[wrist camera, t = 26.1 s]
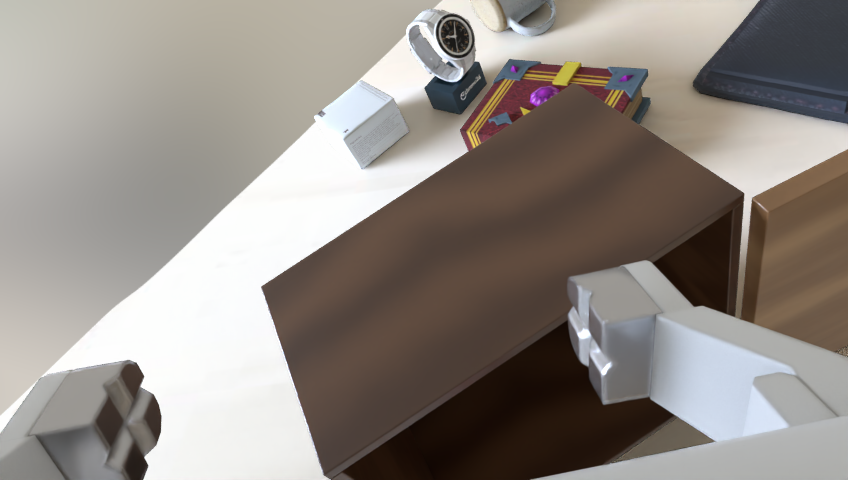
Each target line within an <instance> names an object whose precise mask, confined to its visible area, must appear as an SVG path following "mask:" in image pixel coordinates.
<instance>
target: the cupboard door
mask: <svg viewBox="0 0 848 480" xmlns="http://www.w3.org/2000/svg"><path fill="white" fill-rule="evenodd" d="M741 320H744V321H747V322H750V323H753V324H756V325H758V326H761V327H764V328H767V329H770V330H773V331H775V332H778V333H781V334H784V335H787V336H790V337H792V338H795V339H798V340H801V341H804V342H807V343H809V344H812V345H815V346H818V347H821V348H824V349H826V350H829V351H832V352H835V351H837V350H840V349H842V348H844V347H846V346H848V150H846V151H844V152H842V153H840V154H838V155H836V156H834V157H832V158H830V159H828V160H826V161H824V162H822V163H820V164H818V165H816V166H814V167H812V168H810V169H808V170H806V171H804V172H802V173H800V174H798V175H796V176H794V177H792V178H790V179H788V180H786V181H784V182H782V183H781V184H779V185H777V186H775V187H773V188H771V189H769V190H767V191H765V192H763V193H761V194H759V195H757V196H755V197H753V198H752V204H751V215H750V226H749V236H748V247H747V258H746V269H745V280H744V291H743V301H742V312H741Z"/></svg>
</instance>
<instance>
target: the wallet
mask: <svg viewBox="0 0 848 480" xmlns="http://www.w3.org/2000/svg"><path fill="white" fill-rule="evenodd" d="M693 87H695V88H696V89H697V90H698V91H699V92H700V93H704V94H708V95H712V96H716V97H720V98H725V99H730V100H735V101H741V102H746V103H751V104H756V105H761V106H766V107H771V108H776V109H780V110H785V111H790V112H794V113H799V114H803V115H808V116H813V117H817V118H822V119H827V120H832V121H838V122H843V123H848V0H760V1H759V2H758V3H757V4H756V6H755V7H754V8H753V9H752V11H751V12H750V13H749V14H748V16H747V17H746V18H745V19H744V21H743V22H742V23H741V24H740V26H739V27H738V28H737V29H736V30H735V31H734V32H733V34H732V35H731V36H730V37H729V38H728V39H727V41H726V42H725V43H724V44H723V45H722V46H721V48H720V49H719V50H718V51H717V52H716V53H715V55H714V56H713V57H712V58H711V59H710V60H709V61H708V63H707V64H706V65H705V66H704V67H703V68H702V69H701V70H700V72H699V73H698V75H697V76H696V78H695V80H694V81H693Z"/></svg>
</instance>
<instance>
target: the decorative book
mask: <svg viewBox="0 0 848 480" xmlns="http://www.w3.org/2000/svg"><path fill="white" fill-rule="evenodd" d="M647 77H648V69H637V68H621V67H608V69H602V68H588V67H581V63H579V62H566V63H565V64H564V66H562V65H548V64H541V62H537V61H525V60H512V59H509V60H508V62H507V63H506V65H505V66H504V67H503V69H502V70H501V72H500V73H499V74H498V76H497V77H496V78H495V80H494V81H493V84H494V85H493V86H492V87H491V89H490V90H489V91H488V93H487V94H486V95H485V97H484V98H483V100H482V101H481V102H480V104H479V105H478V106H477V108H476V109H475V110H474V112H473V113H472V115H471V116H470V117H469V119H468V120H467V121H466V123H465V124H464V125H463V127H462V128H461V129H460V132H461V134H462V137H463V139H464V141H465V144H466V146H467V148H468V151H470V150H472V149H473V148H475V147H476V146H478V145H479V144H481V143H482V142H484V141H485V140H487V139H488V138H490V137H492V136H493V135H495V134H496V133H498V132H499V131H501V130H502V129H504V128H505V127H507V126H508V125H510V124H511V123H513V122H515V121H516V120H518V119H519V118H521V117H522V116H524V115H525V114H527V113H528V112H530V111H531V110H533V109H534V108H536V107H538V106H539V105H541V104H542V103H544V102H545V101H547V100H548V99H550V98H551V97H553V96H554V95H556V94H557V93H559V92H561V91H562V90H564V89H565V88H567V87H568V86H570V85H571V84H573V83H576V84H577V85H579V86H581V87H582V88H584V89H585V90H587V91H588V92H590V93H591V94H593V95H594V96H596V97H597V98H599V99H600V100H602V101H604V102H605V103H607V104H608V105H610V106H611V107H613V108H614V109H616V110H617V111H619V112H620V113H622V114H624V115H625V116H627V117H628V118H630V119H631V120H633V121H634V122H636V123H637V124H639V123H640V121H641V119H642V118H643V116H644V114H645V112H646V111H647V109H648V107H649V106H650V104H651V101H650V98H647V97H642V92H641V87H642V85H643V83H644V82H645V80H646V78H647Z"/></svg>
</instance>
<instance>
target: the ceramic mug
mask: <svg viewBox="0 0 848 480" xmlns="http://www.w3.org/2000/svg"><path fill="white" fill-rule="evenodd" d="M545 2H547V3H548V5H549V6H550V8H551V10H552V12H551V17H550V19H549V20H548V21H546V22H545V23H543V24H541V25H539V26H534V27H526V26H522V25H520V24H519V23H517V22H519V21H520V20H521V19H523V18H524V17H526V16H527V15H529V14H530V13H532V12H533V11H535V10H536V9H537V8H539V7H540V6H541V5H543V4H544V3H545ZM470 3H471V5H472V8H473V10H474V12H475V14H476V15H477V17H478V18H479V19H480V21H481V22H482V23H483V24H484V25H485V26H486V27H487V28H489V29H490V30H492V31H495V32H502V31H504V30H506V29H508V28H510V27H511V28H512V29H513V30H514V31H515V32H518V33H520V34H522V35H525V36H535V35H539V34H542V33H544V32H545V31H547V30H548V29H549V28H550V27H551V26H552V25H553V23H554V21H555V17H556V5H555V2H554V0H470Z"/></svg>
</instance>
